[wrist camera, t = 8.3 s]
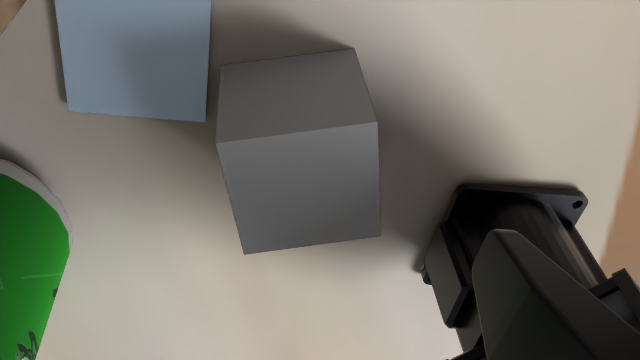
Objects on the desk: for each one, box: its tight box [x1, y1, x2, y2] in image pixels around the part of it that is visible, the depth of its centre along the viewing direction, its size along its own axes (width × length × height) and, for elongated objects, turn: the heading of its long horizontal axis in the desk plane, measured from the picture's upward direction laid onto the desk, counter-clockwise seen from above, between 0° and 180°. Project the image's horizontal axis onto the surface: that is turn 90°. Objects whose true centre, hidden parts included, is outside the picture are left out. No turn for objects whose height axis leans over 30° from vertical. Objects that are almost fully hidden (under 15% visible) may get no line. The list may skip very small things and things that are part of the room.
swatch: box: [54, 0, 212, 122], centre depth 20 cm, size 5×5×1 cm
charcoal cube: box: [215, 48, 381, 255], centre depth 21 cm, size 5×5×5 cm
